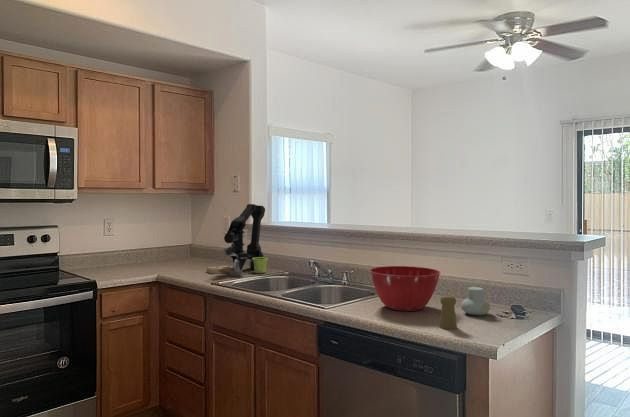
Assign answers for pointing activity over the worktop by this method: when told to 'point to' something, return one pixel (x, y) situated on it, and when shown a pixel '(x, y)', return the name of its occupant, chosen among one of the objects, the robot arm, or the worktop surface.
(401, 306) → the mixing bowl
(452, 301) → the cork
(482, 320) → the worktop surface
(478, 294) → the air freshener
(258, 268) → the plant pot
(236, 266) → the plug
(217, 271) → the socket block
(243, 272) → the pad
